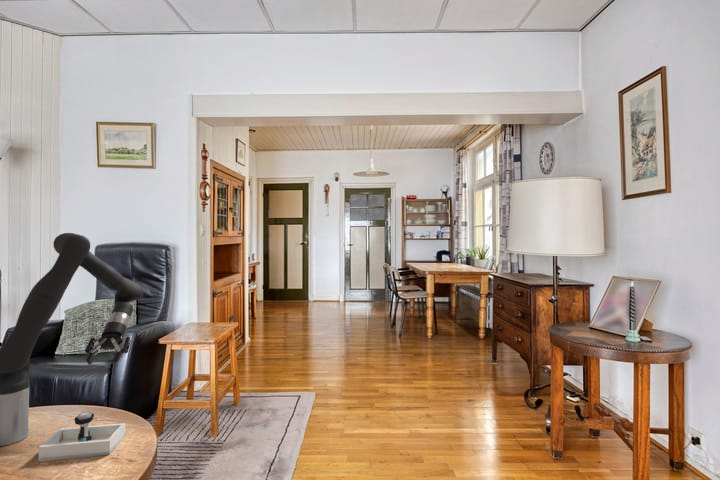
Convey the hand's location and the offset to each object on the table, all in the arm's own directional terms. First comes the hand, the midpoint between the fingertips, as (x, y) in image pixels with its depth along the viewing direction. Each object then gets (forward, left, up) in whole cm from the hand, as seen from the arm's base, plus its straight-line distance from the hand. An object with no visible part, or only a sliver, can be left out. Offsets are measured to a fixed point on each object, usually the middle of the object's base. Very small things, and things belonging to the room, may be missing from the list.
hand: (101, 363), depth 138 cm
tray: (+2, -15, -24) cm, 28 cm away
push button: (+2, -15, -23) cm, 27 cm away
